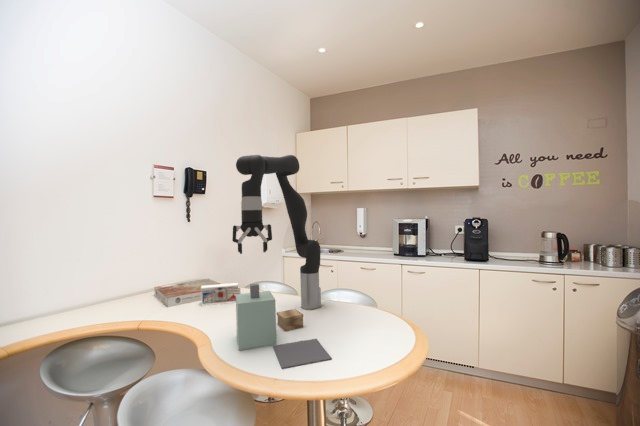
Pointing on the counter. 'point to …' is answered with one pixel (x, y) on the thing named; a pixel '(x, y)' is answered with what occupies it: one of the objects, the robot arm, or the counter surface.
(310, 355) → the mat
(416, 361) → the counter surface
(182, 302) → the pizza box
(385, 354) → the counter surface
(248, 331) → the cover
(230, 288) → the cigarette display
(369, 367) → the counter surface
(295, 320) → the cardboard box
